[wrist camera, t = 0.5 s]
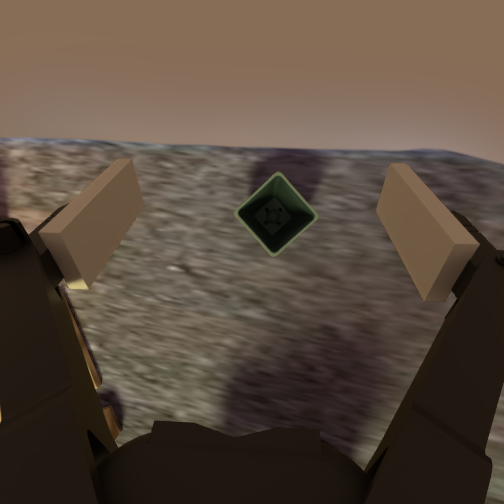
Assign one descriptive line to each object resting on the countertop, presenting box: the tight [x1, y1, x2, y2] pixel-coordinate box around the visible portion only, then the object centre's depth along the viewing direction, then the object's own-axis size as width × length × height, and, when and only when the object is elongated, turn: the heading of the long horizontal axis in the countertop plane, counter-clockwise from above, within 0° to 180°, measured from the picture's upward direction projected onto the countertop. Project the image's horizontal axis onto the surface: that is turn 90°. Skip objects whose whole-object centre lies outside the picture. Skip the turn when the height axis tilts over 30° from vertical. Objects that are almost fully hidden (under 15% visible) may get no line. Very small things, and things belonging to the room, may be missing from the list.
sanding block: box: [102, 405, 122, 440], centre depth 51 cm, size 5×10×5 cm, turn 111°
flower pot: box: [234, 171, 319, 257], centre depth 45 cm, size 9×9×9 cm
